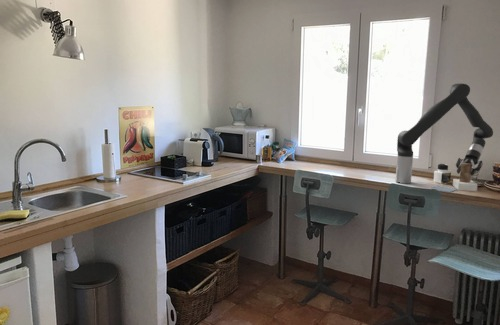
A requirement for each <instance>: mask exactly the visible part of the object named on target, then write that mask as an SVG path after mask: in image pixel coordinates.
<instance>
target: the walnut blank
mask: <svg viewBox="0 0 500 325" xmlns="http://www.w3.org/2000/svg"><path fill="white" fill-rule="evenodd" d="M461 163H462V162H461ZM461 163H460V164H461ZM472 169H473V166H472V164H469V163H462V164H461V171H460V173H459V179H460V182H466V183H468V182H470V181H471V180H472V176H471V174H470V173H471V171H472Z"/></svg>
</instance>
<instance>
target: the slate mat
mask: <svg viewBox="0 0 500 325" xmlns="http://www.w3.org/2000/svg"><path fill="white" fill-rule="evenodd" d="M430 188H431V189H430V190H432V189H437V190H439V192H444V193H452V192H455V191H456V192H457V191H459V190H458V189H456V188H455V187H448V186H444V185H436V186H432V187H430ZM437 190H436V191H437Z"/></svg>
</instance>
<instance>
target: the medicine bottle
mask: <svg viewBox="0 0 500 325" xmlns="http://www.w3.org/2000/svg"><path fill="white" fill-rule="evenodd" d="M451 175H452V172H451V171H449V165H448V164H447V163H439V164H438V165H437V170H434V171H433V182H434V183H437V184H441V185H442V184H443V185H444V184H450V183H451Z"/></svg>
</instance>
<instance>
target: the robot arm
mask: <svg viewBox="0 0 500 325" xmlns="http://www.w3.org/2000/svg"><path fill="white" fill-rule="evenodd" d="M448 91H449V92H448V93H449V94H448V95H447V96H446V97H445V98H443V99H442V100H441V101H439V102H436V103H434V105H431V107H429V108H428V109H427V110H426V111H425V112H424V113H423V114H422V115H421V116H420V118H419V120H418V121H417V123H416V124H414V126H413V127H411V128H409V130H402V131H400V132H399V133H398V135H397V139H396V140H397V143H396V151H397V158H396V159H397V160H396V161H397V162H396V168H395V170H396V171H395V182H396V183H398V182H400V184H411V183H412V177H413V176H412V175H413V163H414V162H413V161H414V160H413V159H414V151H413V145H414V144H415V143H416V142H417V141H418V140H419V138H421V136H423V134H424V133H425V132H426V131H428V130H429V129H430V128H431V127H433V126H434V125H435V124H436V123H438V122H439V121H440V120H441V119H442V118H444V116H445V115H446V114H447V113H448V112H450V111H451V109H452V108H454V107H455V106H456V105H458V106H459V108H461V110H462V112H463V113H464V115H465V117H466V118H467V119H468V121H469V123H470V125H471V126H472V127H473V128H475V130H474V131H473V135H472V136H473V137H472V142H471V144H470V146H469V148H468V150H467V152H466V154H465V157H464V158H463V159H462V158H461V157H459V158H457V161H456V164H455V168H456V172H457V174H459V175H460V171H461V164H462V163H469V164H472V170H471V173H470V174H471V177H472V176H473V175H475V173H476V172H477V171H478V172H480V171H481V169H482V168H483V165H484V162H483V160H480V158H481V156H482V153H483V150H484V148H485V146H486V140H485V139H488V138H491V137H493V135H494V130H493V128H492V127H491V125H489V123H487V121H485V120H484V119H483V117H482V115H481V114H480V112H479V110H478V109H477V108H476V106H474V105H473V104H472V103H471V101H470V100H469V99H468V96H469V95H470V93H471V86H469V85H468V84H466V83H454V84H452V85H451V86H450V88H449V90H448ZM476 165H477V167H476Z"/></svg>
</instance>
